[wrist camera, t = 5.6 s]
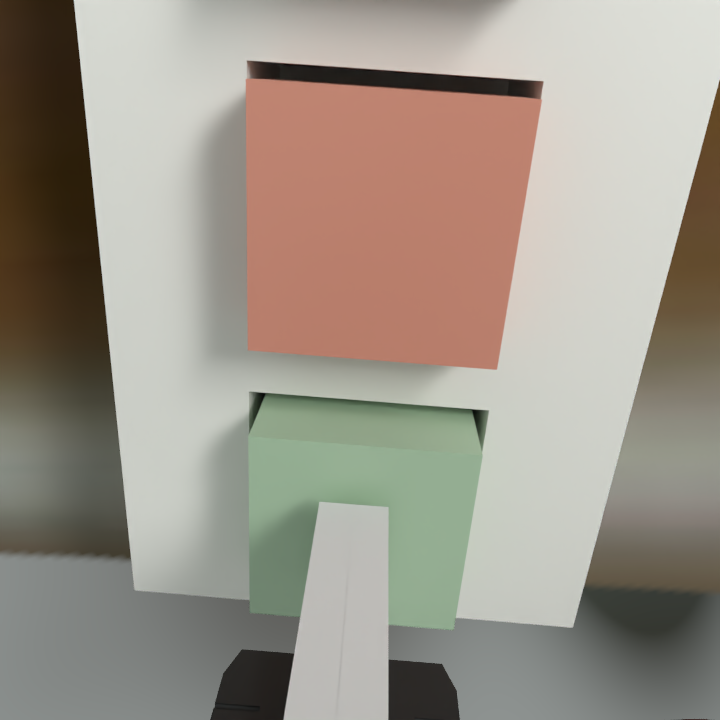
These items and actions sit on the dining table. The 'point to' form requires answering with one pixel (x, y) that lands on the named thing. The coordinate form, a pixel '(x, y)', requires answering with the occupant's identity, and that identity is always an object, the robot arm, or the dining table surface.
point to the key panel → (371, 377)
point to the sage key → (363, 496)
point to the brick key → (383, 219)
